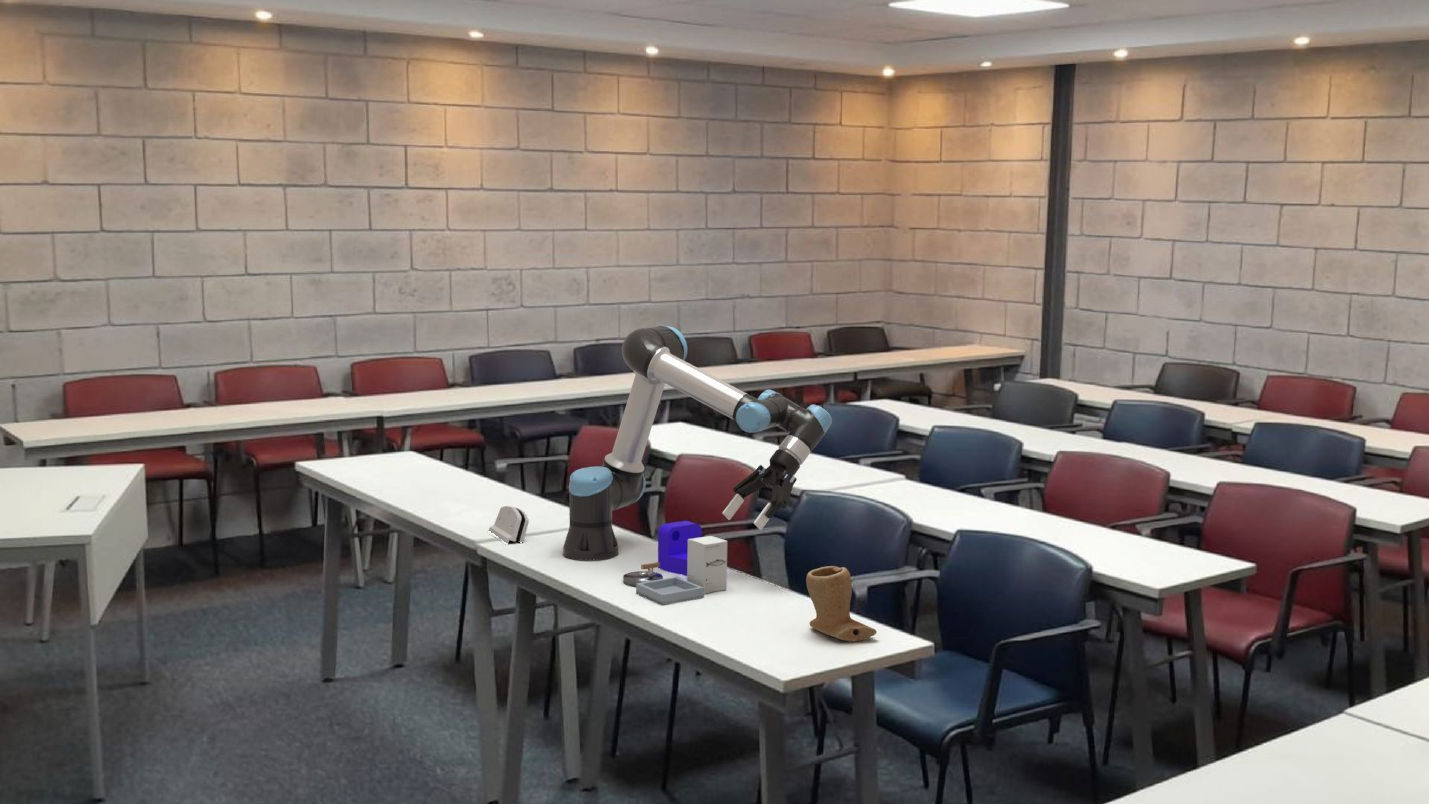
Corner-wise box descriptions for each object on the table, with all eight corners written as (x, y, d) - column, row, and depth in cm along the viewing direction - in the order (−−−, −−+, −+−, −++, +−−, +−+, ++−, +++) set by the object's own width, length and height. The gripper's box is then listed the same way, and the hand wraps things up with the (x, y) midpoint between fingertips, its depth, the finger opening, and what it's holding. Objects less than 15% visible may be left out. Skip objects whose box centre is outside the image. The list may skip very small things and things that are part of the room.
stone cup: (795, 628, 289) (796, 563, 287) (840, 622, 295) (841, 558, 293) (831, 648, 276) (833, 580, 274) (877, 640, 281) (879, 574, 280)
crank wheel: (615, 580, 328) (616, 559, 327) (649, 574, 334) (649, 554, 333) (636, 589, 320) (636, 567, 319) (670, 583, 325) (670, 562, 325)
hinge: (487, 532, 378) (497, 500, 379) (501, 536, 381) (512, 504, 381) (506, 545, 364) (517, 511, 364) (521, 548, 366) (532, 515, 366)
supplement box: (703, 594, 316) (703, 544, 314) (686, 587, 322) (686, 538, 320) (727, 590, 320) (728, 540, 319) (710, 583, 326) (710, 534, 324)
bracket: (657, 568, 341) (658, 524, 339) (691, 562, 347) (691, 519, 346) (697, 583, 326) (698, 538, 325) (731, 577, 333) (732, 532, 331)
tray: (636, 593, 316) (636, 583, 316) (676, 586, 323) (676, 576, 323) (662, 605, 306) (662, 595, 306) (704, 597, 313) (704, 587, 313)
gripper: (827, 473, 323) (779, 540, 316) (768, 459, 343) (721, 521, 337) (811, 455, 319) (762, 521, 313) (752, 441, 340) (704, 503, 333)
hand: (741, 521), depth 325 cm, fingers open, 13 cm apart
